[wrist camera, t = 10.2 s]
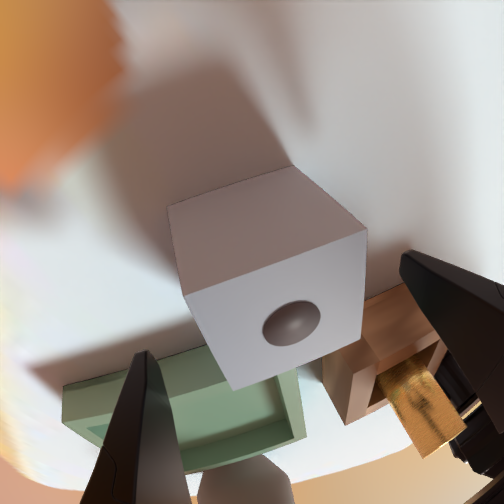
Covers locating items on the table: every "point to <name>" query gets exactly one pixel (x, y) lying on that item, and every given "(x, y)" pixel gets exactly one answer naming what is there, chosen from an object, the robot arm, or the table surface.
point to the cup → (246, 483)
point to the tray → (200, 410)
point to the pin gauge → (420, 405)
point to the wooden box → (379, 352)
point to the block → (270, 273)
